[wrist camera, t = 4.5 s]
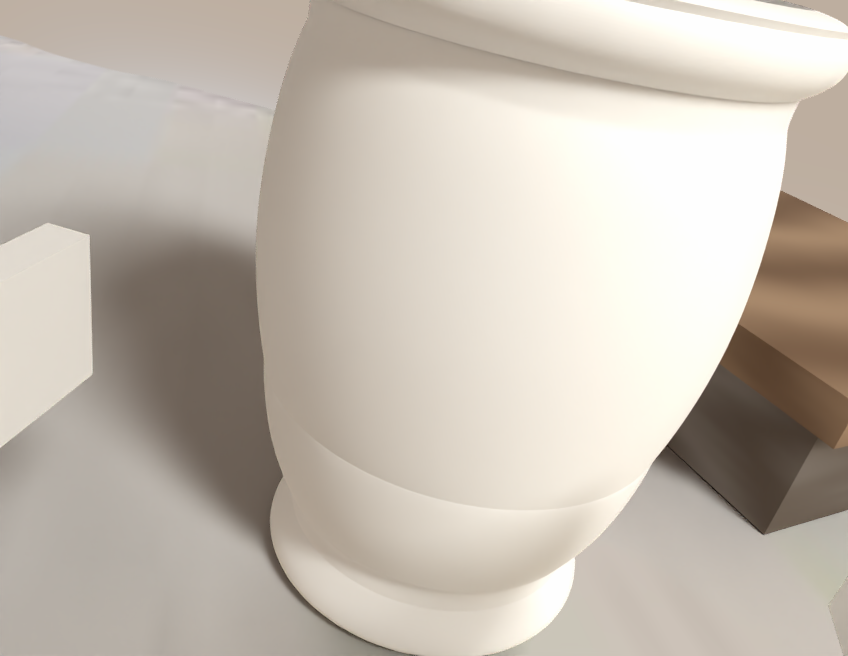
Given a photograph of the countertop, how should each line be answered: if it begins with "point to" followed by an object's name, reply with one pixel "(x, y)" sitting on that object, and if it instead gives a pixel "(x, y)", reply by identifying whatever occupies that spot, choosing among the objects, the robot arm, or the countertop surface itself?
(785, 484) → the stand
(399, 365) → the jar
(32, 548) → the countertop surface
